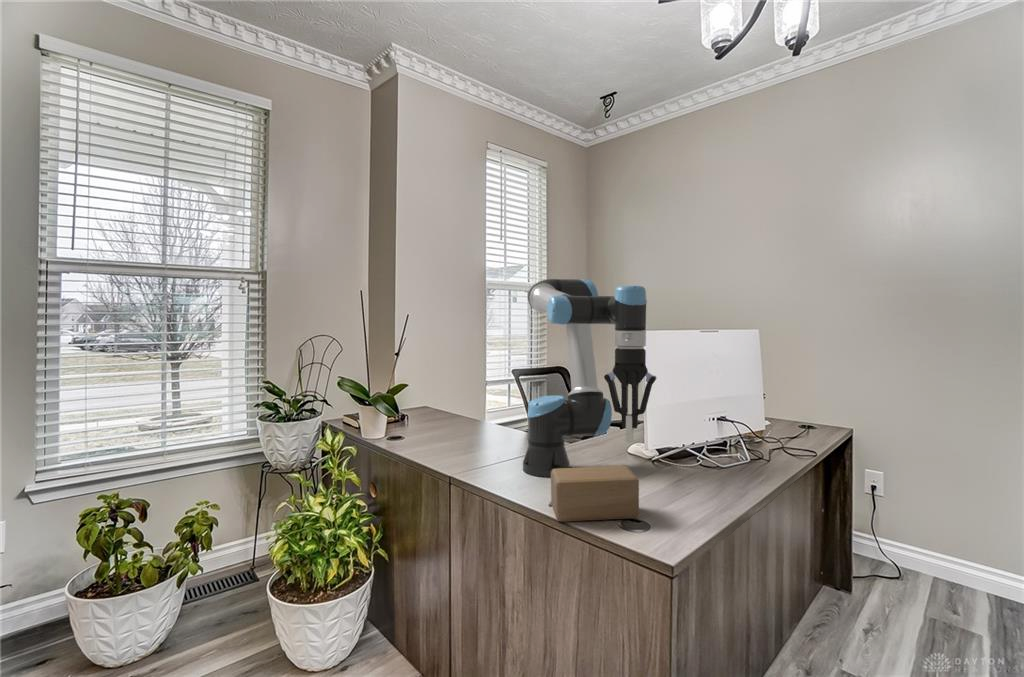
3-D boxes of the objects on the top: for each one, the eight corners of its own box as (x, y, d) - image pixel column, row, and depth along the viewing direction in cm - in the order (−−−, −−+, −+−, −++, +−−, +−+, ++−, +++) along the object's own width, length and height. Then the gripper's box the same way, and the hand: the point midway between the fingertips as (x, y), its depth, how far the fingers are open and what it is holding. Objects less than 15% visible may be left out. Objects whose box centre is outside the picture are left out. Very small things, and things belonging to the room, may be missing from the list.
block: (627, 501, 124) (550, 505, 123) (627, 464, 123) (550, 467, 122) (640, 519, 114) (556, 523, 113) (640, 478, 113) (556, 482, 112)
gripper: (601, 347, 119) (600, 441, 120) (655, 349, 114) (654, 446, 115) (607, 346, 126) (606, 435, 127) (658, 347, 121) (657, 439, 122)
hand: (629, 440), depth 121 cm, fingers closed
